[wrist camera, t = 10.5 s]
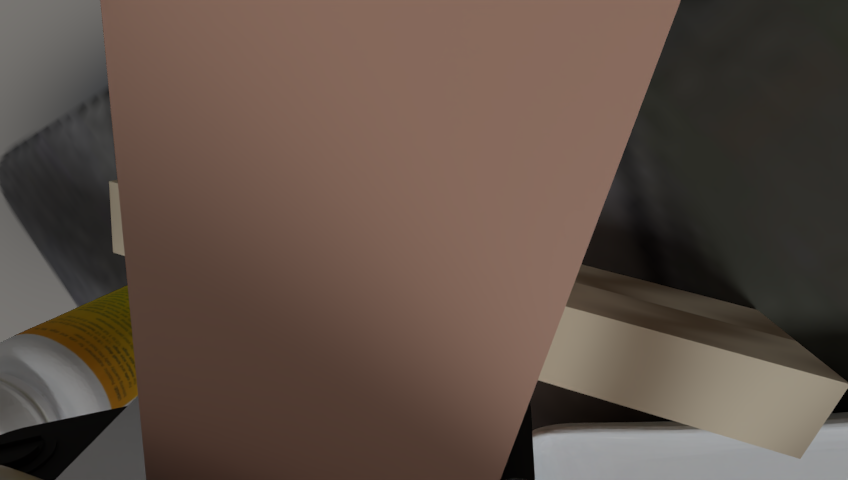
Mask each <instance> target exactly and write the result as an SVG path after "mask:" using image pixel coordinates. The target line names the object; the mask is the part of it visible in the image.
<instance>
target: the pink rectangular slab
mask: <svg viewBox="0 0 848 480" xmlns="http://www.w3.org/2000/svg"><path fill="white" fill-rule="evenodd" d="M100 1H101V11H102V21H103V32H104V43H105V53H106V64H107V74H108V85H109V95H110V106H111V116H112V127H113V137H114V148H115V158H116V169H117V179H118V190H119V200H120V211H121V221H122V232H123V242H124V252H125V263H126V273H127V284H128V294H129V305H130V315H131V326H132V336H133V347H134V357H135V368H136V378H137V389H138V399H139V410H140V420H141V431H142V441H143V451H144V462H145V472H146V480H500V479H501V476H502V474H503V471H504V468H505V466H506V463H507V460H508V458H509V455H510V453H511V450H512V447H513V445H514V442H515V439H516V437H517V434H518V431H519V429H520V426H521V423H522V421H523V418H524V415H525V413H526V410H527V407H528V405H529V402H530V399H531V397H532V394H533V391H534V389H535V386H536V383H537V381H538V378H539V375H540V373H541V370H542V367H543V365H544V362H545V359H546V357H547V354H548V351H549V349H550V346H551V344H552V341H553V338H554V336H555V333H556V330H557V328H558V325H559V322H560V320H561V317H562V314H563V312H564V309H565V306H566V304H567V301H568V298H569V296H570V293H571V290H572V288H573V285H574V282H575V280H576V277H577V274H578V272H579V269H580V266H581V264H582V261H583V258H584V256H585V253H586V250H587V248H588V245H589V243H590V240H591V237H592V235H593V232H594V229H595V227H596V224H597V221H598V219H599V216H600V213H601V211H602V208H603V205H604V203H605V200H606V197H607V195H608V192H609V189H610V187H611V184H612V181H613V179H614V176H615V173H616V171H617V168H618V165H619V163H620V160H621V157H622V155H623V152H624V149H625V147H626V144H627V141H628V139H629V136H630V134H631V131H632V128H633V126H634V123H635V120H636V118H637V115H638V112H639V110H640V107H641V104H642V102H643V99H644V96H645V94H646V91H647V88H648V86H649V83H650V80H651V78H652V75H653V72H654V70H655V67H656V64H657V62H658V59H659V56H660V54H661V51H662V48H663V46H664V43H665V40H666V38H667V35H668V33H669V30H670V27H671V25H672V22H673V19H674V17H675V14H676V11H677V9H678V6H679V3H680V1H681V0H100Z"/></svg>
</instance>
